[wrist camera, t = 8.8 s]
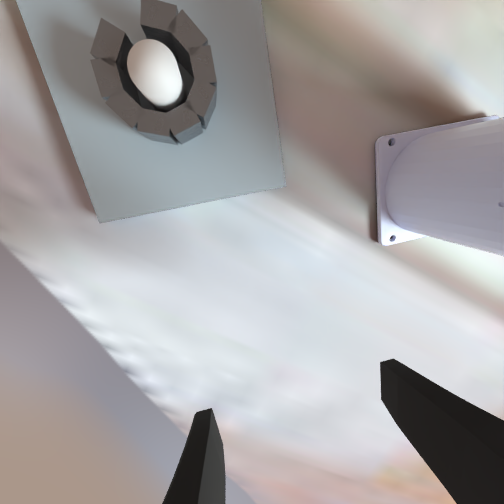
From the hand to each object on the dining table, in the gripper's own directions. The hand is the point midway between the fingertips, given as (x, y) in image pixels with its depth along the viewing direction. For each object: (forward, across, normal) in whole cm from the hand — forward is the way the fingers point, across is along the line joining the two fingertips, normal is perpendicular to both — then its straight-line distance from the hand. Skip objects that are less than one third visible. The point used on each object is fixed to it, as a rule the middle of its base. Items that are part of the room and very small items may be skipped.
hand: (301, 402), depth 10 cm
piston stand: (+10, +3, -14) cm, 17 cm away
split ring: (+9, +3, -14) cm, 17 cm away
